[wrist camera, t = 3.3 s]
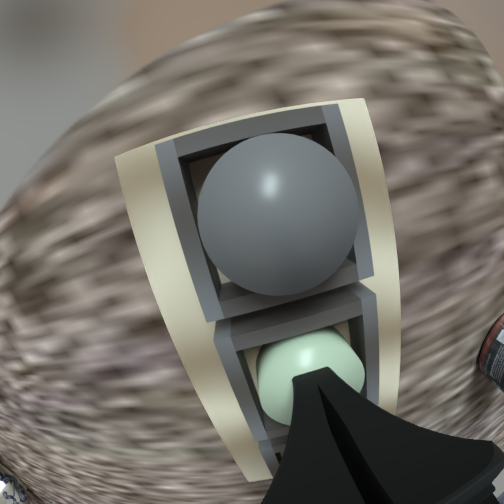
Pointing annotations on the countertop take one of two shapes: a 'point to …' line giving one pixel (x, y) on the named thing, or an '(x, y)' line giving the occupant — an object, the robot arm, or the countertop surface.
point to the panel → (254, 304)
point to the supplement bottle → (494, 354)
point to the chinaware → (11, 488)
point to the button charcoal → (278, 214)
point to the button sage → (302, 367)
